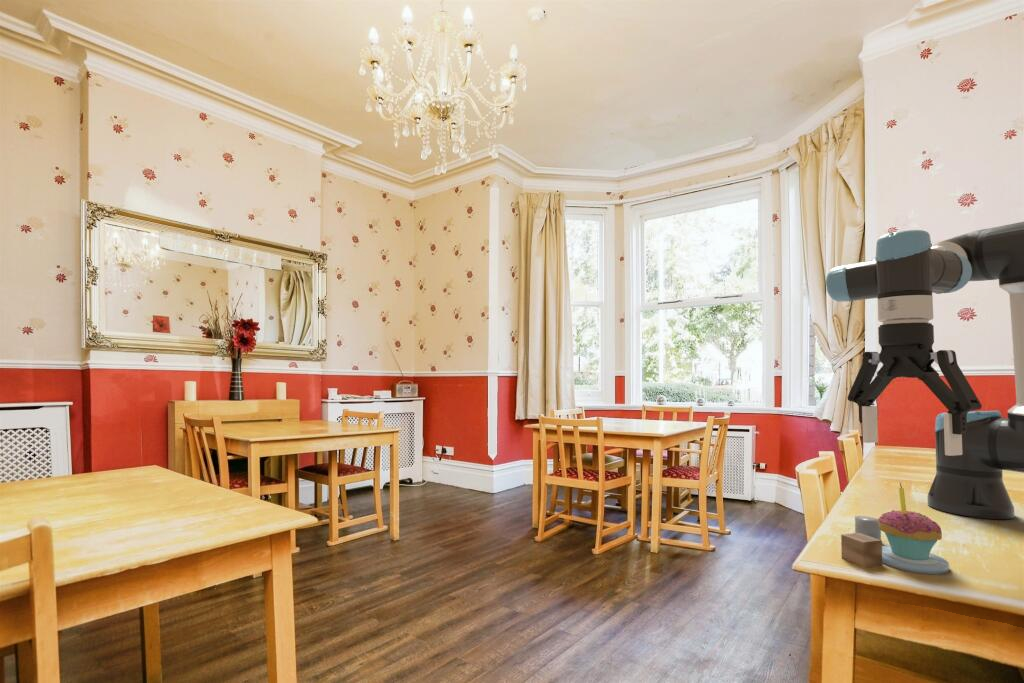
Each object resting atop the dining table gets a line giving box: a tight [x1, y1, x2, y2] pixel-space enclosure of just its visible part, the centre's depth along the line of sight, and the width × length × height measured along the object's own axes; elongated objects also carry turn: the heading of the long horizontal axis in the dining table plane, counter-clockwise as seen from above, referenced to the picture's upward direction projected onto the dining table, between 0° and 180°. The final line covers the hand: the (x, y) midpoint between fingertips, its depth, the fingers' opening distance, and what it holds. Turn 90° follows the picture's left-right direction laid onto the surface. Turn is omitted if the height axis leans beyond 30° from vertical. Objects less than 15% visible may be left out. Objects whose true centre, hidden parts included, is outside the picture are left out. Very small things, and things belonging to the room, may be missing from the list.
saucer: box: [882, 545, 950, 575], centre depth 86 cm, size 10×10×1 cm
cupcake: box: [877, 482, 943, 560], centre depth 87 cm, size 9×8×12 cm
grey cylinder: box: [854, 515, 882, 540], centre depth 97 cm, size 4×4×4 cm
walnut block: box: [840, 533, 883, 568], centre depth 86 cm, size 4×4×4 cm
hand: (909, 448), depth 87 cm, fingers open, 13 cm apart
